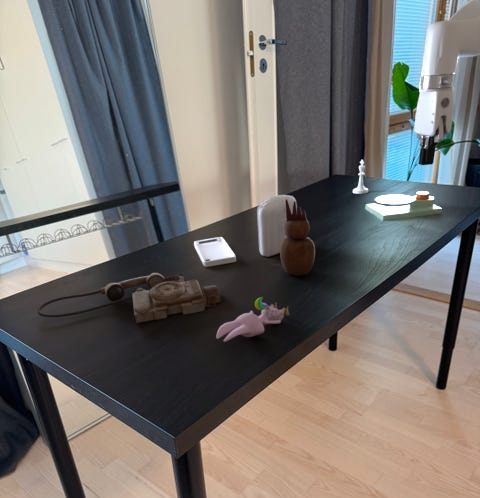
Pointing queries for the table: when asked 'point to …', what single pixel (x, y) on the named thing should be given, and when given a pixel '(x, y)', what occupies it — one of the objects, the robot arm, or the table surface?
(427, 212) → the scale
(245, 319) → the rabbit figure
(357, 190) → the chess piece
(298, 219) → the wooden figurine
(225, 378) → the table surface
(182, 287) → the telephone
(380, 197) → the pan
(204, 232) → the table surface
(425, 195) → the tare button
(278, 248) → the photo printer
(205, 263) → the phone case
